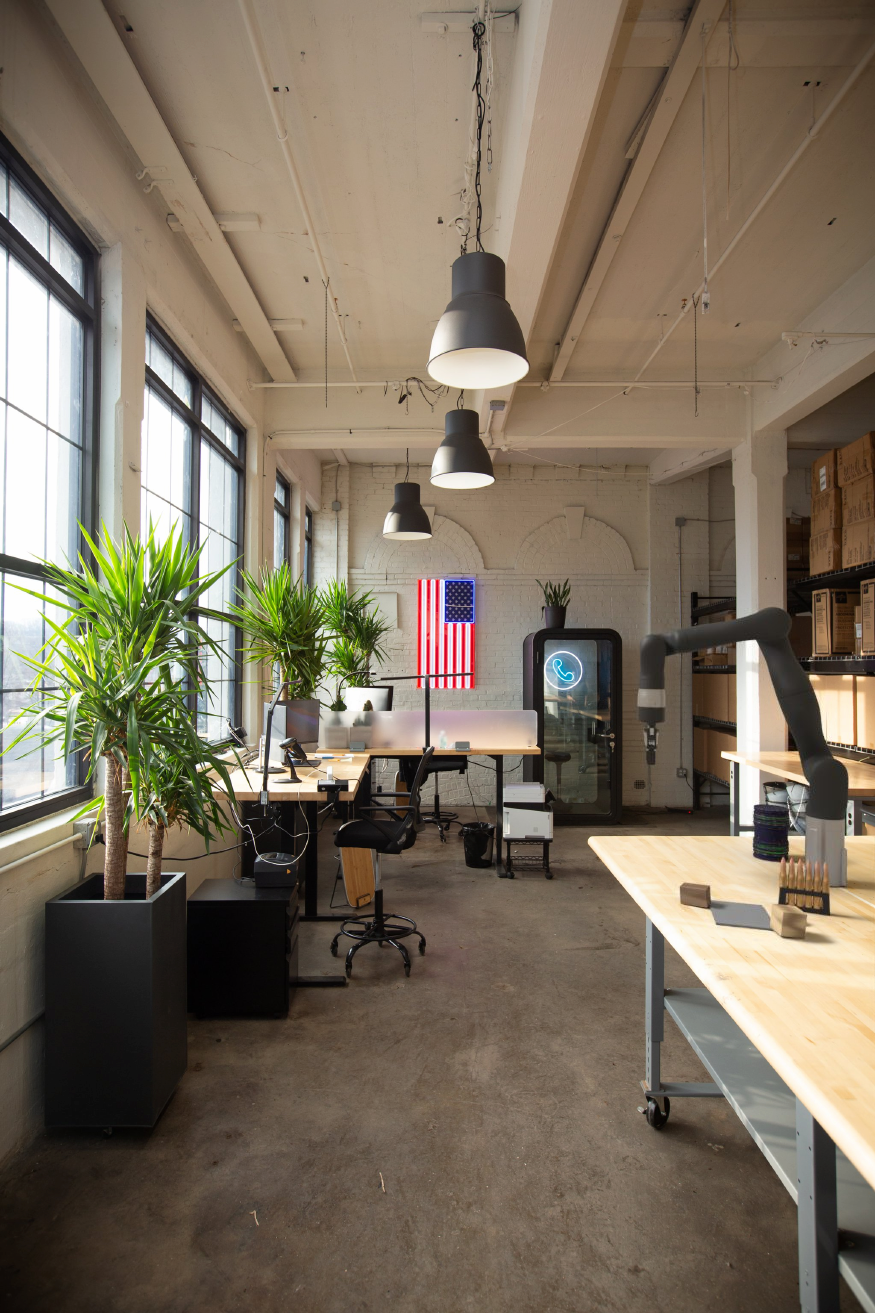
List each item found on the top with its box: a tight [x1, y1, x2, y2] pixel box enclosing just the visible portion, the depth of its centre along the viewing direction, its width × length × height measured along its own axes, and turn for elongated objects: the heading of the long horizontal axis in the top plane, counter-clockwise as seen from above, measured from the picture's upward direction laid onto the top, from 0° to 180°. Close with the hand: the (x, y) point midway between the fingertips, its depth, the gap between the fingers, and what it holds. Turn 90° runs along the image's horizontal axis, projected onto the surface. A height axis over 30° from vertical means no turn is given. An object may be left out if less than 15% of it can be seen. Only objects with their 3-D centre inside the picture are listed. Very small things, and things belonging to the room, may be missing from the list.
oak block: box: [770, 903, 808, 939], centre depth 150 cm, size 5×5×5 cm
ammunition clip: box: [777, 857, 831, 917], centre depth 164 cm, size 11×2×12 cm, turn 67°
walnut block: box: [679, 881, 712, 908], centre depth 167 cm, size 4×6×4 cm, turn 56°
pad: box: [708, 899, 774, 932], centre depth 160 cm, size 12×16×1 cm
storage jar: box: [752, 803, 790, 863], centre depth 211 cm, size 10×10×15 cm
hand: (650, 762), depth 199 cm, fingers open, 8 cm apart
